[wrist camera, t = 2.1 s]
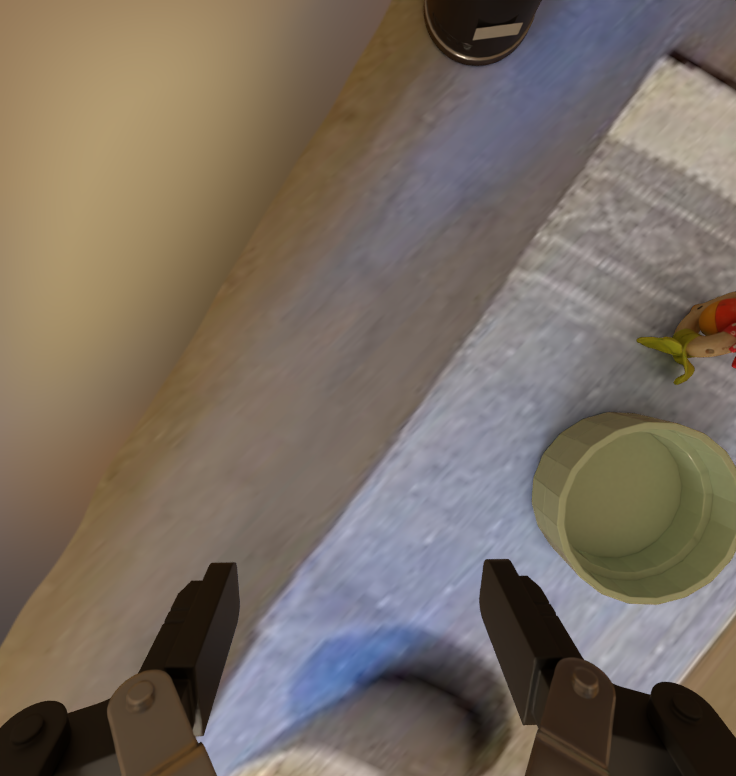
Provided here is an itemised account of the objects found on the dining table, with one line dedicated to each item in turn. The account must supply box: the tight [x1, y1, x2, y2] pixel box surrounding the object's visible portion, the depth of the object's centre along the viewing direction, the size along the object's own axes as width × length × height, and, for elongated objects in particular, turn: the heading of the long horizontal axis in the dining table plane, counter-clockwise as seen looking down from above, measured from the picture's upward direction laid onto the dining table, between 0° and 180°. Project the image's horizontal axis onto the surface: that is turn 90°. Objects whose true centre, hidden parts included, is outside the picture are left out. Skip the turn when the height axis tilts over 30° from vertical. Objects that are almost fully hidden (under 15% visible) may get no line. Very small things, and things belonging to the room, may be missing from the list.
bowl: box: [532, 412, 736, 605], centre depth 37 cm, size 15×15×6 cm
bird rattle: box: [637, 291, 736, 385], centre depth 33 cm, size 6×11×9 cm
